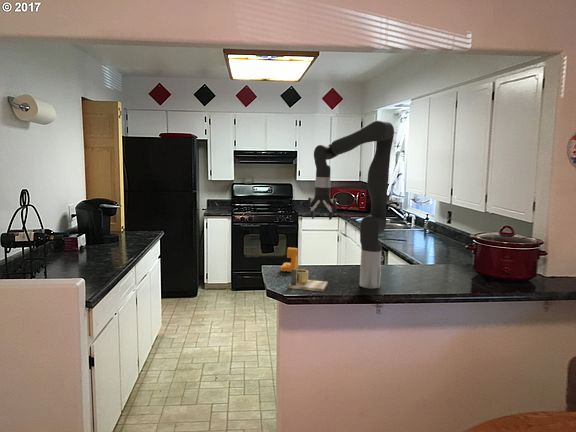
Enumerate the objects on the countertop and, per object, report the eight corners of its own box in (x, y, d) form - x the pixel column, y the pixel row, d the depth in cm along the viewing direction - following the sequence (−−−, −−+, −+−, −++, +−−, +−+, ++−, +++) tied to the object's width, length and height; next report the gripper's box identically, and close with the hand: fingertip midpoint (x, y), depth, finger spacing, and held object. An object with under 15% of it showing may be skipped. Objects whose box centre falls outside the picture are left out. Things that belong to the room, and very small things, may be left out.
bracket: (284, 267, 242) (285, 245, 240) (298, 268, 241) (298, 246, 239) (280, 272, 232) (281, 249, 230) (294, 273, 230) (295, 250, 228)
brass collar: (308, 280, 214) (309, 269, 214) (306, 283, 208) (306, 273, 208) (295, 279, 216) (296, 268, 215) (292, 282, 210) (293, 272, 209)
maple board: (327, 284, 213) (328, 267, 212) (323, 291, 202) (323, 273, 201) (294, 280, 217) (294, 264, 216) (287, 287, 206) (288, 270, 204)
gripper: (338, 186, 226) (336, 218, 228) (310, 185, 229) (308, 217, 232) (336, 187, 219) (334, 221, 221) (306, 186, 222) (305, 219, 224)
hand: (321, 219), depth 226 cm, fingers open, 8 cm apart
